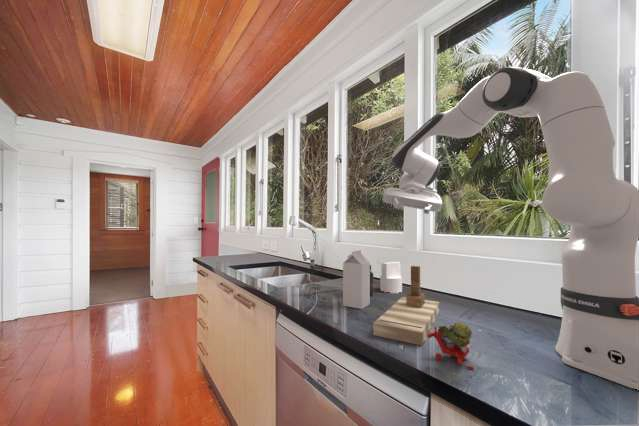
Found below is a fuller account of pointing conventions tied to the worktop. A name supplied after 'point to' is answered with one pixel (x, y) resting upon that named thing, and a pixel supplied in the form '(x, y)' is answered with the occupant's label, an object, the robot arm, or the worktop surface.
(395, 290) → the cylinder with rectangular tab
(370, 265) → the supplement bottle
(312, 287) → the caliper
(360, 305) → the milk carton
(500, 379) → the worktop surface
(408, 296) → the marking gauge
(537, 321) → the worktop surface
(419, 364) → the worktop surface
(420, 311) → the slatted pale wooden block
